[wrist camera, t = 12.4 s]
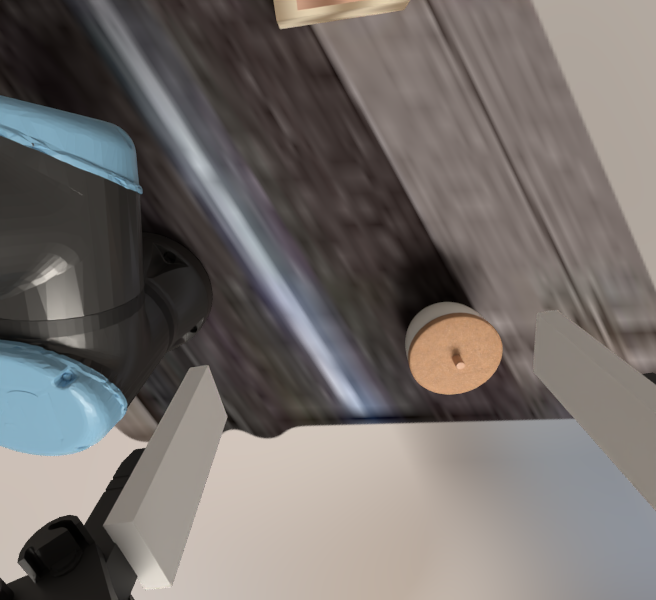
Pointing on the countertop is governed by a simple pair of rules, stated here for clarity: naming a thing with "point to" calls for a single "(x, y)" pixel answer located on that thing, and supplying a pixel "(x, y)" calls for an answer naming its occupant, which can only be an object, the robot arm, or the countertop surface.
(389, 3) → the base block
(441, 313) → the lidded jar
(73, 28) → the countertop surface
